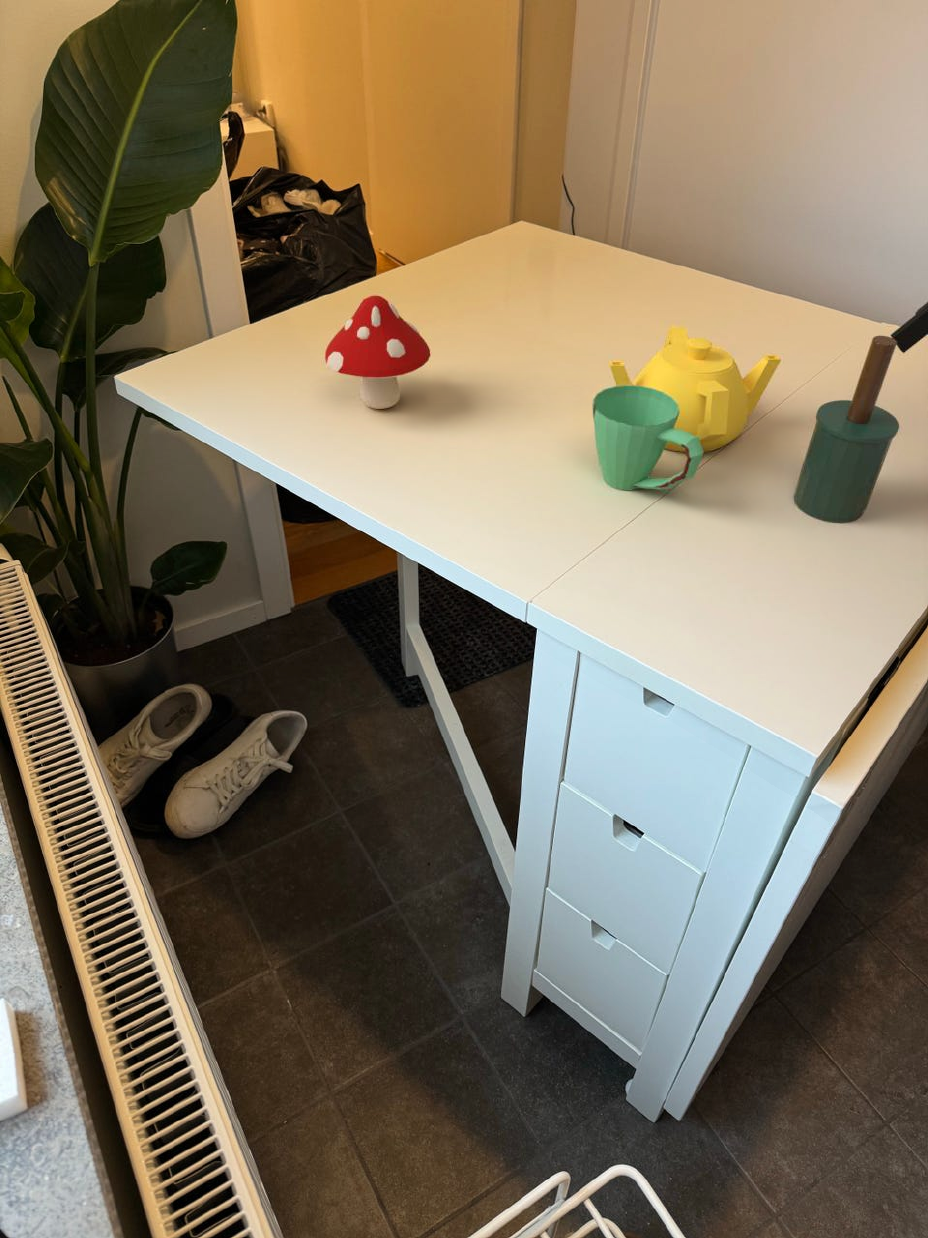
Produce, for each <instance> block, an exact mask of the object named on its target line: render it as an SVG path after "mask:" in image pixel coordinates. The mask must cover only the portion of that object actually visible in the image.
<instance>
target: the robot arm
mask: <svg viewBox="0 0 928 1238" xmlns="http://www.w3.org/2000/svg"><path fill="white" fill-rule="evenodd" d="M914 314H915V315H913V316H912V317H911V318H909V319H908V320H907V321H906V322H904V323H903V324H902V325H901V326H900V327H898V328H897V329H896V330H894V331H893V332H892V333H891V334H890V337H891V338H893V339H895V340H896V341H897V345H896V347H897V348H898V350H899V351H901V353H902V354H905V353H906V352H907V351H909V350H910V349H911V348H912V347H914V346H915V345H917V343H919V342H920V341H921V340H922V339H924V338H925V337H927V336H928V301H927V302H926V303H925V304H923V305H922V306H921V307H919V308H917V310H916V311H915V313H914Z"/></svg>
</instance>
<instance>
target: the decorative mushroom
mask: <svg viewBox="0 0 928 1238" xmlns="http://www.w3.org/2000/svg"><path fill="white" fill-rule="evenodd" d="M324 353H325V355H324V361H325V365H326V366H327V368H328V369H329V370H330V371H333V372H335V373H339V374H342V375H347V376H352V377H356V378H361V383H360V386H359V398H360V399H359V400H360V402H361V403H363V404H364V405H365V406H367V407H369V408H372V409H377V410H383V409H389V408H391V407H393V406H395V405H396V404H397V403H398V402H399V401H400V399H401V389H400V385H399V382H398V379H397V377H401V376H404V375H408V374H410V373H413V372H415V371H416V370H418V369H420V368H422V367H423V366H424V365H426V363H428V361H429V359H430V358H431V349H430V347H429V345H428V343H427V342H426V340H425V339H424V338H423V337H422V336H421V334H420V332H419V330H418V329H417V327H415V325H413V324H412V323H411V322H409V321H407V320H404V318H403V317H402V316H401V315H400V313H399V311H398V309H397V308H396V306H394V304H393V303H391V302H389V300H387V299H386V298H385V297H383V296H381V295H370V296H368V297H366V298H364V299H362V301H361V302H360V303H359V305H357V308H356V309H355V311H354V313H353V315H352V316H351V318H350V319H348V320H347V321H346V322H345V324H344V325H343V327H342V328H341V329H339V330H338V332H337V333H336V334H335V335H334V337H333V338H332V339H331V340H330V342H329V344H328V345H327V346H326V350H325V352H324Z"/></svg>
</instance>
